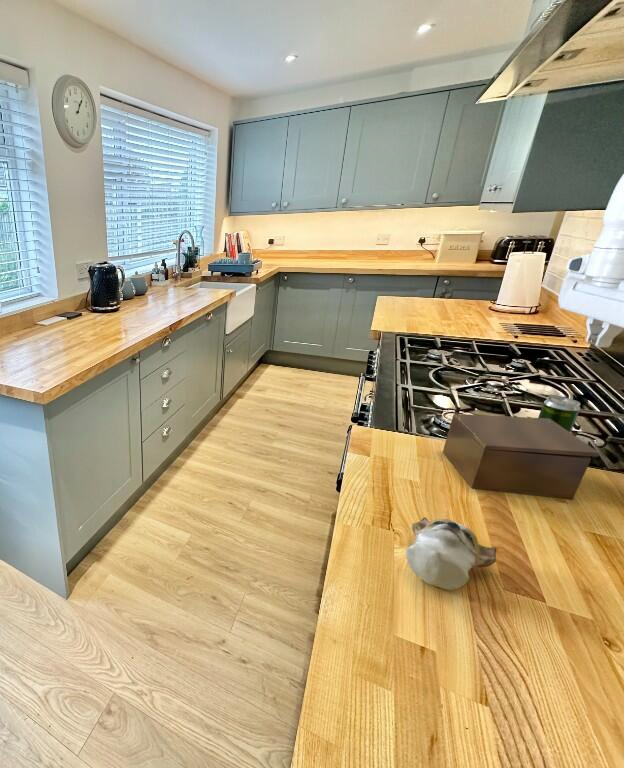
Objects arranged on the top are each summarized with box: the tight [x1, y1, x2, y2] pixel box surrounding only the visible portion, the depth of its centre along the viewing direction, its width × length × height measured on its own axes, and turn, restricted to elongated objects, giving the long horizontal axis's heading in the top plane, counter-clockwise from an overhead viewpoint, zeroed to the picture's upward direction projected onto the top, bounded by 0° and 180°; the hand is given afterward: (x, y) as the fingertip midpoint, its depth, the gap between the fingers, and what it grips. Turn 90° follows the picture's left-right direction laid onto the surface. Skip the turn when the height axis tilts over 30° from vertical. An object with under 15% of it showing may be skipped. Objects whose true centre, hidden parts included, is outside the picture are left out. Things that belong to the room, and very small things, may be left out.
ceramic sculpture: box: [405, 516, 497, 591], centre depth 63 cm, size 11×9×15 cm
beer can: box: [537, 395, 581, 434], centre depth 89 cm, size 5×5×12 cm
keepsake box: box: [442, 417, 592, 500], centre depth 83 cm, size 16×14×9 cm
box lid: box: [452, 413, 600, 458], centre depth 81 cm, size 16×14×1 cm
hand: (597, 345), depth 74 cm, fingers closed
